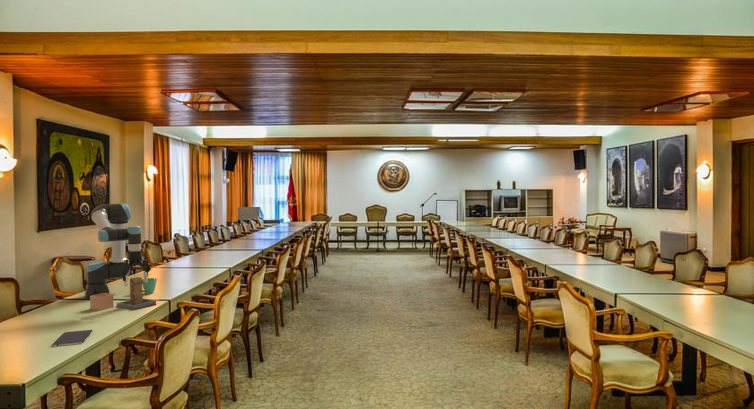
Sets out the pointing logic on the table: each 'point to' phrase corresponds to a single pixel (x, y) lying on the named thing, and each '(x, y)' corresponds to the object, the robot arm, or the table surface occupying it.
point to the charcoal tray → (139, 306)
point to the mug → (149, 285)
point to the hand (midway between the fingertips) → (135, 284)
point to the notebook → (72, 337)
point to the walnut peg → (136, 291)
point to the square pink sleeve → (101, 301)
